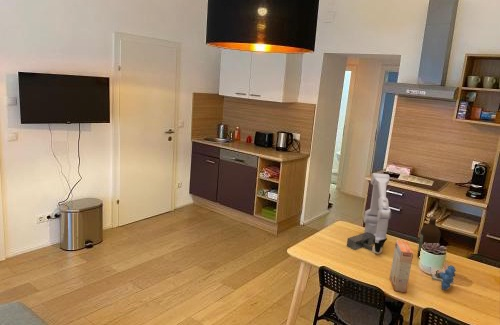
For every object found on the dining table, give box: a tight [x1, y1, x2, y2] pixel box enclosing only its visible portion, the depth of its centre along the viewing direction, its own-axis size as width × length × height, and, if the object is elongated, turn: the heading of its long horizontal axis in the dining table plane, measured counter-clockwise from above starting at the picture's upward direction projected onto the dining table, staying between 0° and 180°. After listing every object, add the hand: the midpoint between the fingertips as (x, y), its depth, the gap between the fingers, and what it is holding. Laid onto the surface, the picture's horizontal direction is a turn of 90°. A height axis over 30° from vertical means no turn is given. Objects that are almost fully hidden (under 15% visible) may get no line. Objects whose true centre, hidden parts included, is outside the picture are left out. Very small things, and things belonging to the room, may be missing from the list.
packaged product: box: [431, 261, 454, 285], centre depth 203 cm, size 18×5×10 cm
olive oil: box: [417, 216, 442, 259], centre depth 220 cm, size 11×11×25 cm
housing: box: [346, 232, 375, 251], centre depth 234 cm, size 20×6×5 cm, turn 128°
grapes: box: [440, 265, 457, 291], centre depth 189 cm, size 12×7×12 cm, turn 134°
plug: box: [362, 243, 383, 255], centre depth 229 cm, size 4×15×3 cm, turn 45°
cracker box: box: [389, 239, 414, 293], centre depth 187 cm, size 14×6×21 cm, turn 168°
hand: (378, 250), depth 224 cm, fingers closed on plug, 4 cm apart
